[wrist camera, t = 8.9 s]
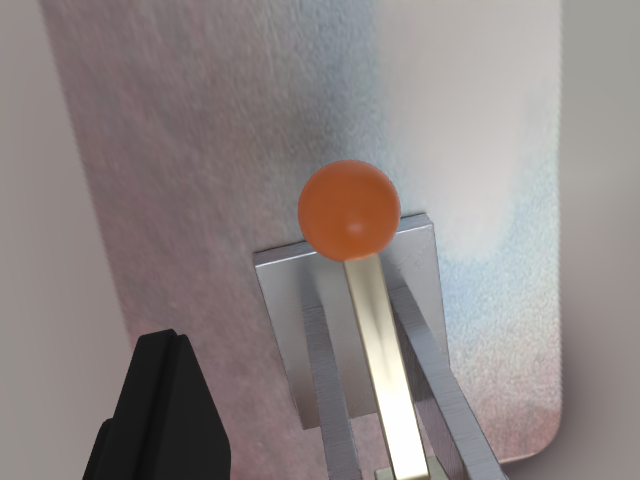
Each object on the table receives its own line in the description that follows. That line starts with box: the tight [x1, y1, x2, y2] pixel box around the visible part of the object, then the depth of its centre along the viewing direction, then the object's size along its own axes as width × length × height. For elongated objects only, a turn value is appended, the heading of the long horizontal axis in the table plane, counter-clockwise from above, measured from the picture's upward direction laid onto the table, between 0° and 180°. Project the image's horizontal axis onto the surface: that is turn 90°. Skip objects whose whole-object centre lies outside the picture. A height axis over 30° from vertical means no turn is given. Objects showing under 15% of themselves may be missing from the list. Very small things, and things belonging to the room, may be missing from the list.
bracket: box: [254, 213, 510, 480], centre depth 21 cm, size 10×8×13 cm
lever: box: [298, 160, 450, 480], centre depth 17 cm, size 13×3×3 cm, turn 10°
